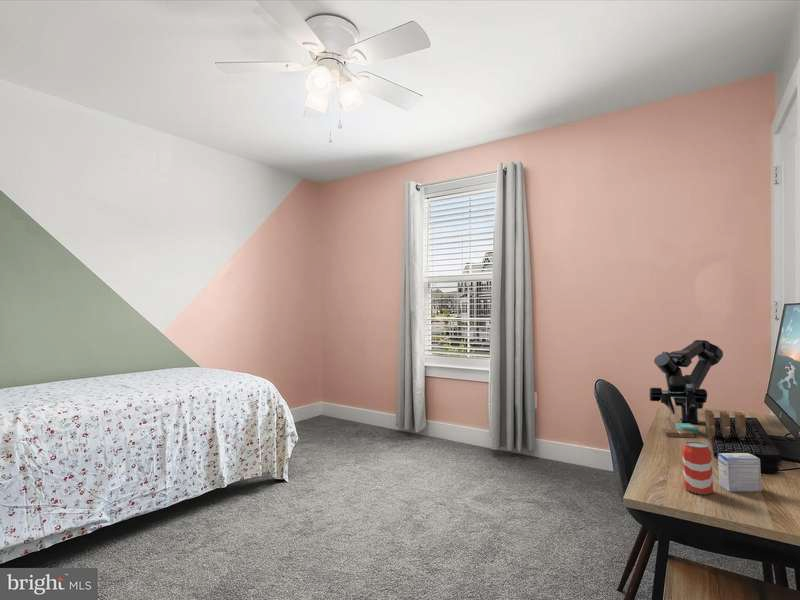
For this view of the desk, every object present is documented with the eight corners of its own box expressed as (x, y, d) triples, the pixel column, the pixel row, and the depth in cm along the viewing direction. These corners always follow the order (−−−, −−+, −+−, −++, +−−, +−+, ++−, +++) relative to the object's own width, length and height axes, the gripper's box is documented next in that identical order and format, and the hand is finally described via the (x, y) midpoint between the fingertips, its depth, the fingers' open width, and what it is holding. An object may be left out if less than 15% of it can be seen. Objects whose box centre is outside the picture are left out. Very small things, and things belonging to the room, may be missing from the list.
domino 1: (694, 438, 166) (666, 437, 168) (689, 434, 171) (662, 433, 173) (693, 433, 166) (666, 432, 168) (688, 429, 171) (662, 428, 173)
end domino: (698, 429, 171) (689, 423, 179) (683, 428, 172) (675, 423, 181) (699, 434, 171) (690, 428, 179) (683, 433, 172) (675, 427, 181)
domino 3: (724, 440, 162) (723, 414, 162) (720, 436, 166) (719, 411, 167) (730, 440, 161) (729, 414, 161) (727, 436, 166) (725, 411, 166)
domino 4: (739, 441, 160) (738, 415, 160) (736, 437, 165) (734, 412, 165) (746, 441, 159) (744, 415, 160) (742, 437, 164) (741, 412, 164)
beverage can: (688, 494, 117) (686, 447, 117) (681, 485, 123) (679, 440, 123) (716, 496, 115) (714, 448, 115) (707, 487, 121) (705, 441, 121)
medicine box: (750, 485, 121) (748, 452, 121) (762, 492, 117) (760, 458, 117) (718, 485, 122) (717, 452, 122) (729, 492, 117) (727, 458, 118)
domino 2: (709, 438, 164) (707, 413, 164) (706, 435, 168) (705, 410, 169) (715, 439, 163) (714, 413, 163) (712, 435, 168) (711, 410, 168)
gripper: (648, 366, 180) (653, 400, 169) (704, 367, 172) (713, 402, 162) (647, 383, 187) (652, 417, 176) (701, 385, 179) (709, 420, 169)
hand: (680, 414), depth 171 cm, fingers open, 4 cm apart
